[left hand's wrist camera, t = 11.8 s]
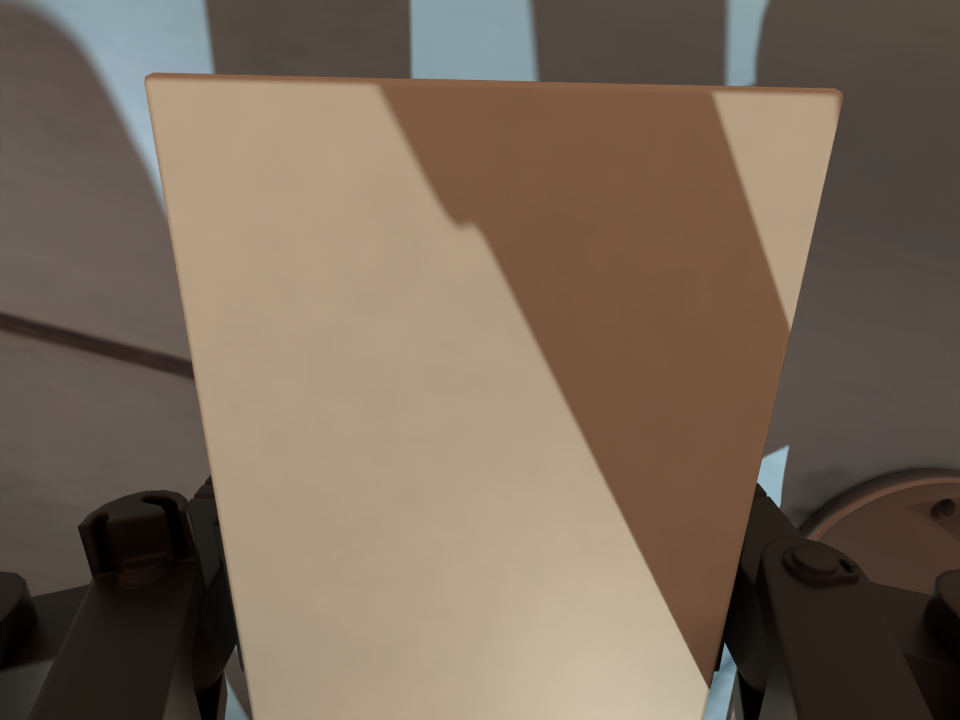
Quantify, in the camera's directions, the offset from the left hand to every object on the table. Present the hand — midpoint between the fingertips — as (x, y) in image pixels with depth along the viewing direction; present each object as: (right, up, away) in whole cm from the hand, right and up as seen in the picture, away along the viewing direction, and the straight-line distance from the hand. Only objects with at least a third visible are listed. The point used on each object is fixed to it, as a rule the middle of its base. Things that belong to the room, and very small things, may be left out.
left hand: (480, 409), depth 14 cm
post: (-1, -29, +12) cm, 32 cm away
